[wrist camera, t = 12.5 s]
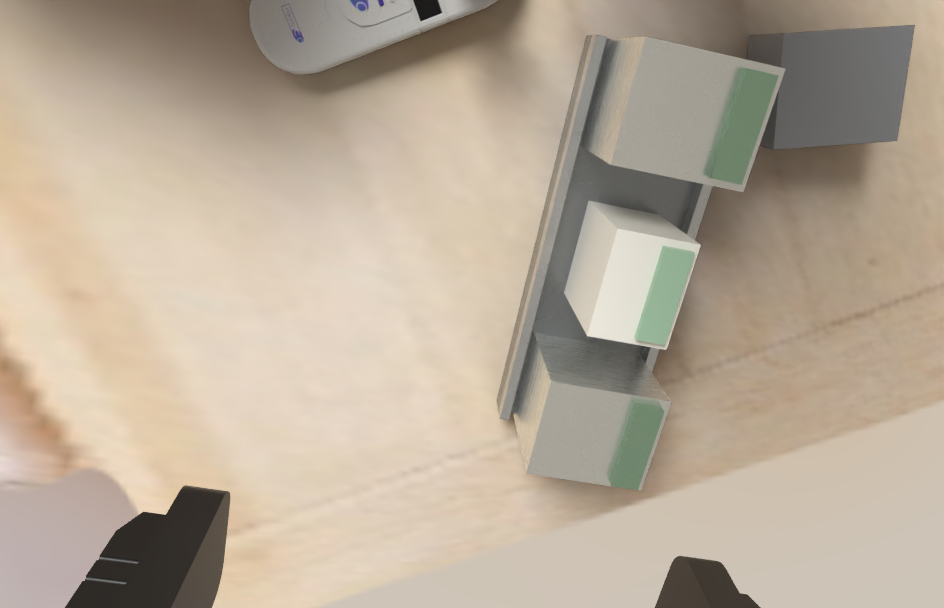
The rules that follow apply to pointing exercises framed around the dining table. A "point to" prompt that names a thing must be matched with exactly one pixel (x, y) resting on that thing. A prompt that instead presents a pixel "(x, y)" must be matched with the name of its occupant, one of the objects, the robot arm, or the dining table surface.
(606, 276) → the block
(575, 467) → the rail board
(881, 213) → the dining table surface
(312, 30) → the electronic device
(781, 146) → the block
